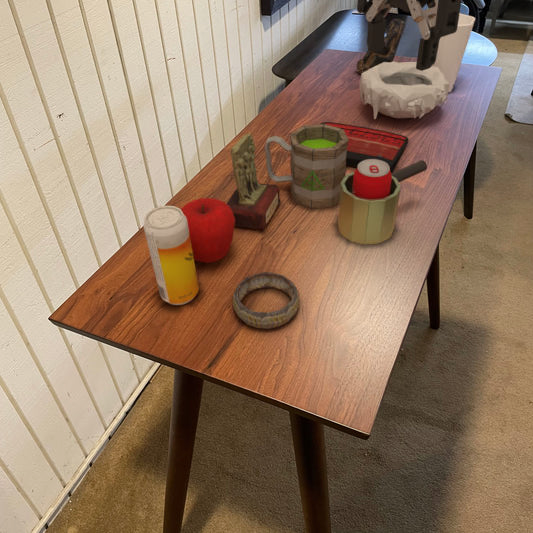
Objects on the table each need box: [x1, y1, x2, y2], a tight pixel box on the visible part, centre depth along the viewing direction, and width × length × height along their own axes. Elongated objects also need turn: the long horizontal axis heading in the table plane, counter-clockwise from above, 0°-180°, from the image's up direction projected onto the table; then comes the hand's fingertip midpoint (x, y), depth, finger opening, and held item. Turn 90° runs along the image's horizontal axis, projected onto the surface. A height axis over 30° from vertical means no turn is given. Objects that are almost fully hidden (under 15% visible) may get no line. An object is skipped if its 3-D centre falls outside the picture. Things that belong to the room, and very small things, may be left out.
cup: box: [429, 12, 476, 93], centre depth 130 cm, size 11×10×17 cm
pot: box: [337, 159, 428, 245], centre depth 90 cm, size 18×10×9 cm, turn 125°
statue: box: [355, 18, 406, 74], centre depth 139 cm, size 6×12×15 cm, turn 67°
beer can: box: [142, 205, 200, 306], centre depth 76 cm, size 6×6×15 cm
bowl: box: [358, 60, 449, 120], centre depth 122 cm, size 21×20×10 cm
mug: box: [264, 123, 349, 210], centre depth 97 cm, size 16×11×12 cm
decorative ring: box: [232, 271, 301, 330], centre depth 77 cm, size 10×3×10 cm
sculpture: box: [226, 133, 281, 230], centre depth 91 cm, size 10×8×15 cm
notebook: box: [320, 121, 409, 173], centre depth 113 cm, size 16×2×21 cm
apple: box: [180, 197, 236, 264], centre depth 84 cm, size 10×10×11 cm
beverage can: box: [352, 159, 392, 199], centre depth 87 cm, size 6×6×12 cm
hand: (398, 59), depth 66 cm, fingers open, 8 cm apart
